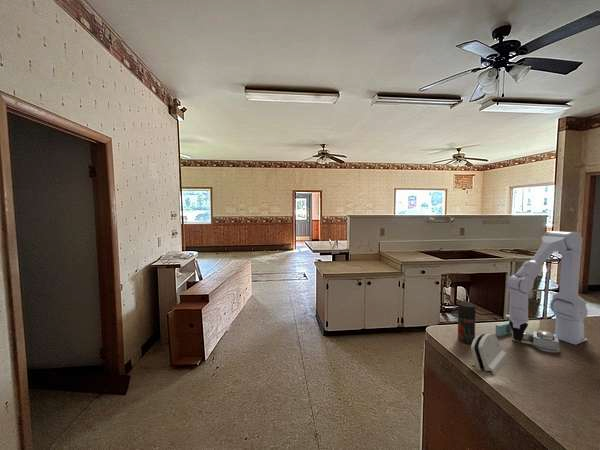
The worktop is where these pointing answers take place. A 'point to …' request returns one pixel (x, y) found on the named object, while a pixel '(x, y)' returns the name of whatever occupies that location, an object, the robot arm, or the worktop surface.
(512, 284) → the robot arm
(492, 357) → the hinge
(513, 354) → the worktop surface
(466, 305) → the deodorant
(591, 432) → the worktop surface
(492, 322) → the worktop surface
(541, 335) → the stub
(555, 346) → the elbow
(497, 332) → the pale teal rectangular bar
